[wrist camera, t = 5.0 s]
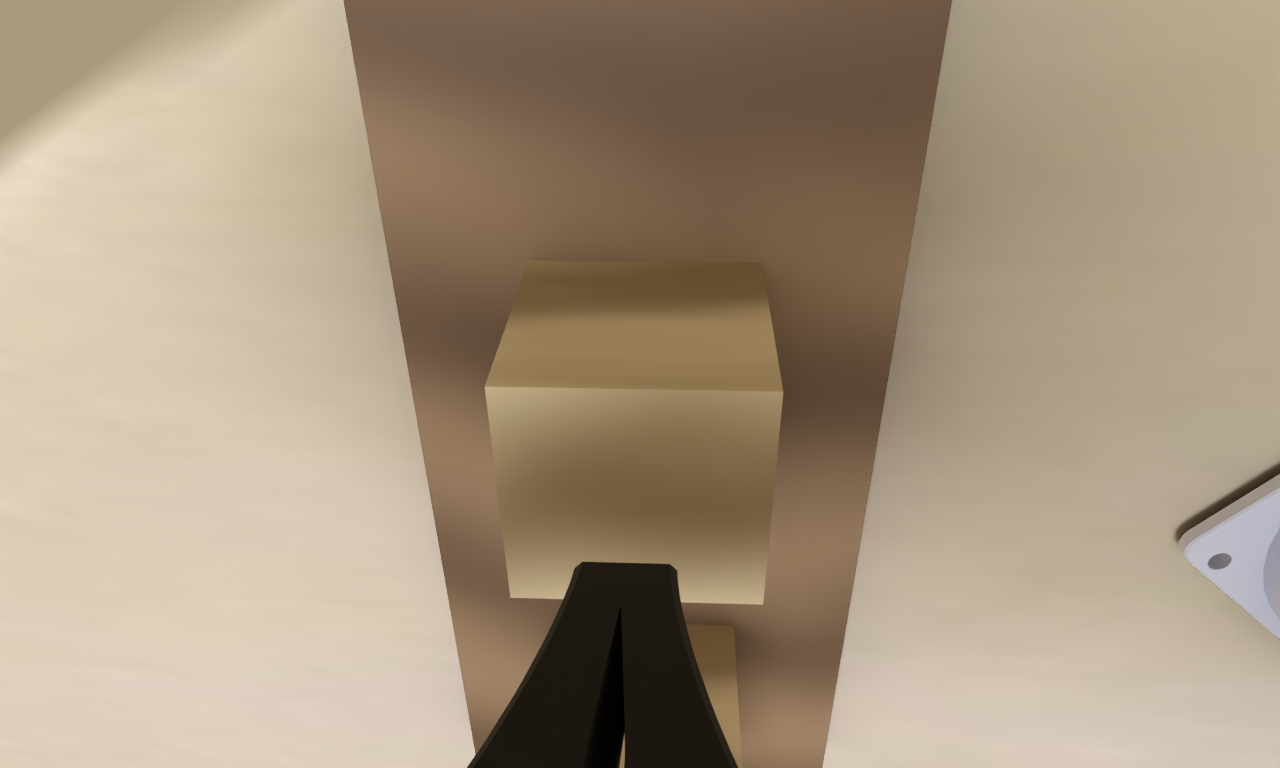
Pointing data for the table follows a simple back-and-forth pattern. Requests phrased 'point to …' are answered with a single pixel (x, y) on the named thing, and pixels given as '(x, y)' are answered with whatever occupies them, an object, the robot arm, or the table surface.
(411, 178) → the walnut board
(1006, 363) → the table surface
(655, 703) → the robot arm
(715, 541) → the plain block
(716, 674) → the block seven
